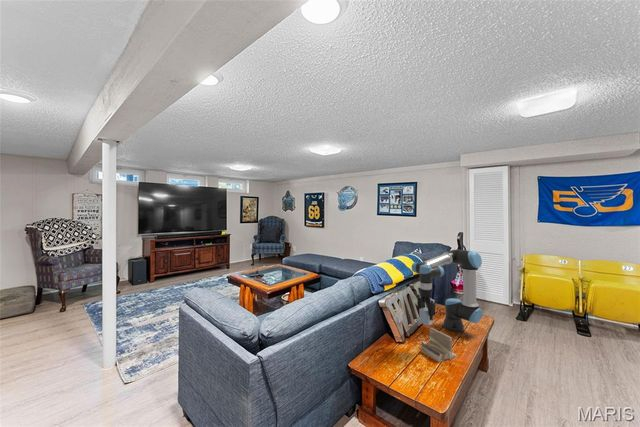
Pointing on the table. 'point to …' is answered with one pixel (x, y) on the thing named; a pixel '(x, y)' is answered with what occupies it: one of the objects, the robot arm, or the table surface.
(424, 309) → the grey rectangular block
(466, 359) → the table surface
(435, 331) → the grey slotted stand
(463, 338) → the table surface
